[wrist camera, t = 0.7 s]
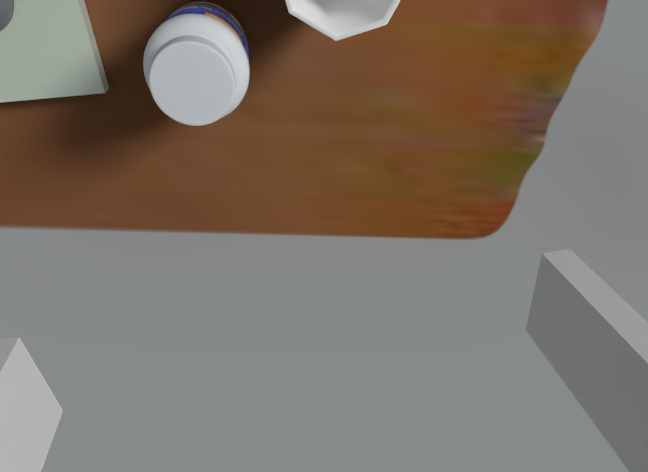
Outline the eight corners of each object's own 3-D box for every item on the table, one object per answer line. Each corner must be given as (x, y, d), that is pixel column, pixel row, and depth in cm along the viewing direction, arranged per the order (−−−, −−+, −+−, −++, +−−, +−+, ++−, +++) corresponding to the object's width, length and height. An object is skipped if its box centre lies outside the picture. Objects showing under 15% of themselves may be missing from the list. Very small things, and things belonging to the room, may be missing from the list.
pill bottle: (252, 9, 30) (259, 34, 22) (243, 95, 32) (245, 146, 24) (161, -9, 29) (132, 10, 20) (159, 82, 31) (132, 131, 23)
